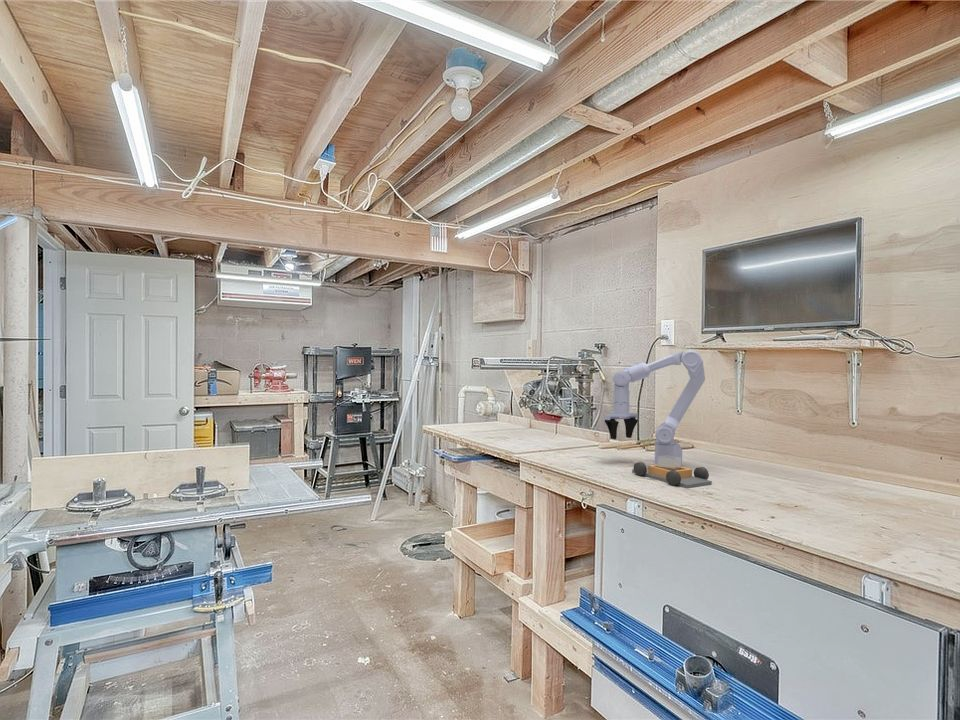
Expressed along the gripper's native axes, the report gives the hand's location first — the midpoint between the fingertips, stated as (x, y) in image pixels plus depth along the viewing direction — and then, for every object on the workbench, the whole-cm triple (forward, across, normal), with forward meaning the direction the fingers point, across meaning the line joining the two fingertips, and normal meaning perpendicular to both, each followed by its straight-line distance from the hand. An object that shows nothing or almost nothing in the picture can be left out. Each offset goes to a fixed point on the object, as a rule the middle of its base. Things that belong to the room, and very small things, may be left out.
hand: (621, 438), depth 183 cm
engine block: (+8, +2, +25) cm, 26 cm away
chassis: (+9, +2, +25) cm, 27 cm away
